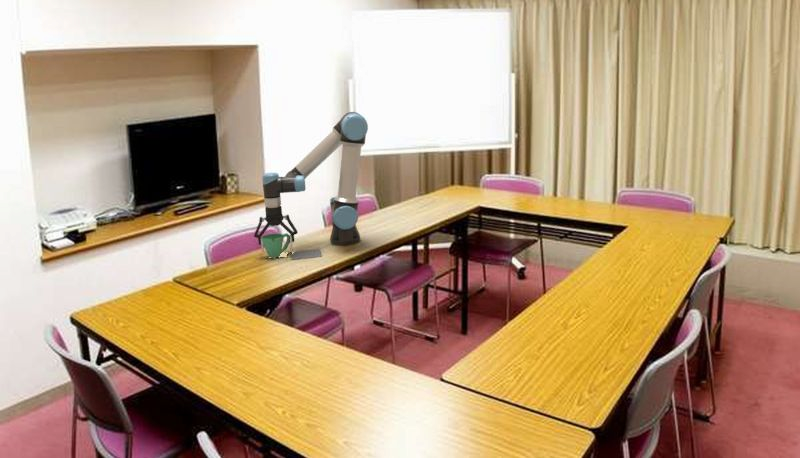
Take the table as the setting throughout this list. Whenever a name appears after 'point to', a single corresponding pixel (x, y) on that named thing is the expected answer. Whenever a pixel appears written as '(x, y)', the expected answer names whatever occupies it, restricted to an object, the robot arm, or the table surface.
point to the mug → (275, 244)
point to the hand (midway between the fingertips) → (277, 249)
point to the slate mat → (306, 254)
